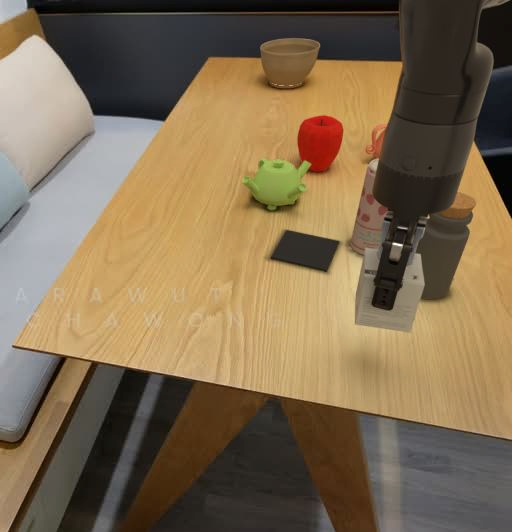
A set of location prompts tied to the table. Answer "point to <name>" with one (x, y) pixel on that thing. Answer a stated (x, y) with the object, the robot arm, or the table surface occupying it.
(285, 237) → the coaster
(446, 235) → the bottle
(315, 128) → the apple
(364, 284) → the white cardboard box
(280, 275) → the table surface
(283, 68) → the planter bowl
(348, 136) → the table surface
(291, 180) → the teapot
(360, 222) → the beverage can
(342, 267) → the table surface
